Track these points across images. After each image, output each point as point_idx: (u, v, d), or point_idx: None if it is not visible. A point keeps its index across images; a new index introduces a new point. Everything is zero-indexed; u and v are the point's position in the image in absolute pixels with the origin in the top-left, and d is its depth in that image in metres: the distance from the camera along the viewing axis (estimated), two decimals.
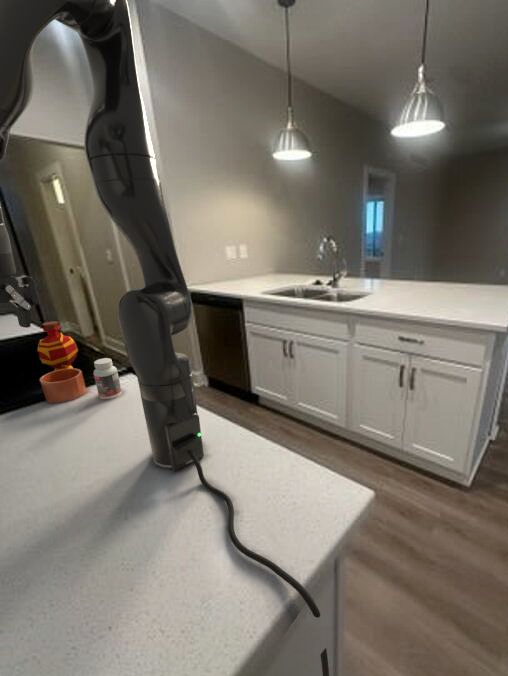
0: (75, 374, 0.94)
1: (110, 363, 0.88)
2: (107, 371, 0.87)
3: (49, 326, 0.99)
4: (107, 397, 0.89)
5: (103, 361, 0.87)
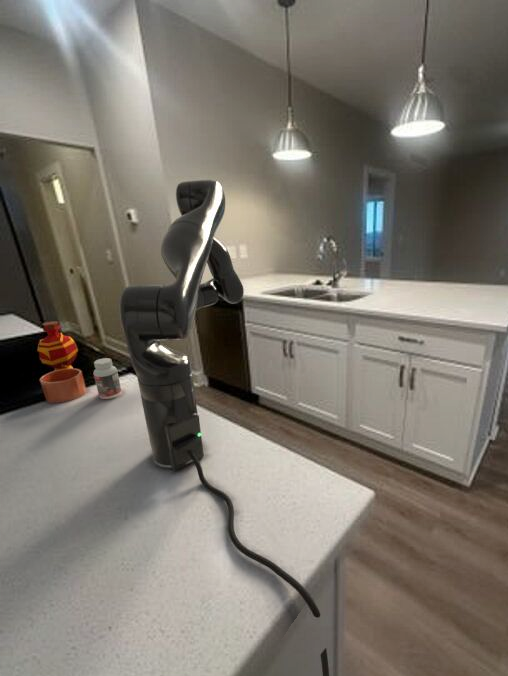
0: (75, 374, 0.94)
1: (110, 363, 0.88)
2: (107, 371, 0.87)
3: (49, 326, 0.99)
4: (107, 397, 0.89)
5: (103, 361, 0.87)
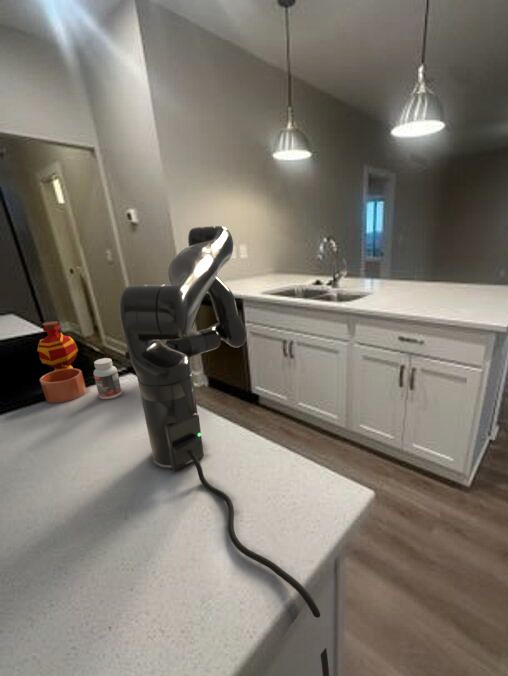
0: (75, 374, 0.94)
1: (110, 363, 0.88)
2: (107, 371, 0.87)
3: (49, 326, 0.99)
4: (107, 397, 0.89)
5: (103, 361, 0.87)
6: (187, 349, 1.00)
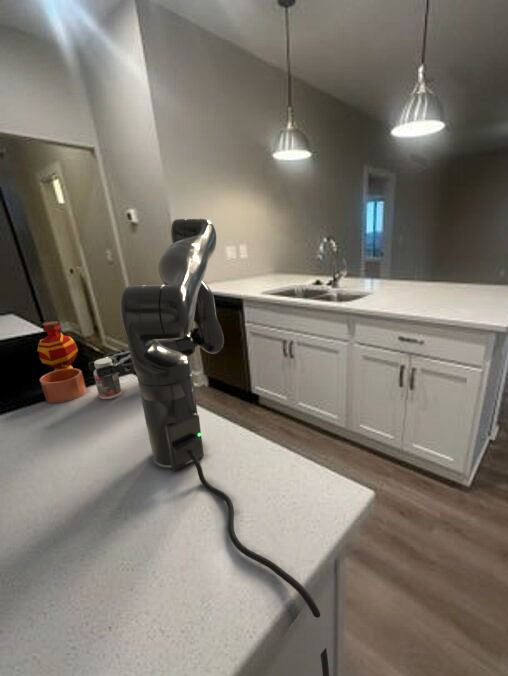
0: (75, 374, 0.94)
1: (110, 363, 0.88)
2: None
3: (49, 326, 0.99)
4: (107, 397, 0.89)
5: (103, 361, 0.87)
6: None
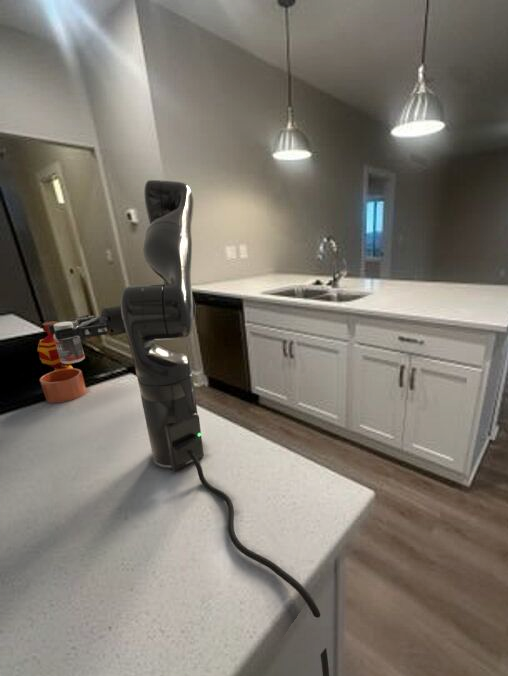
0: (75, 374, 0.94)
1: (70, 326, 0.84)
2: None
3: None
4: (68, 361, 0.85)
5: (63, 324, 0.84)
6: (123, 321, 0.91)
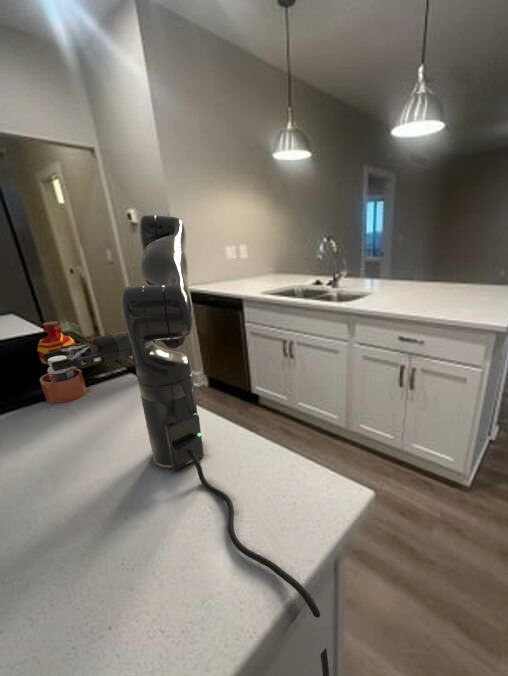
0: (75, 374, 0.94)
1: None
2: None
3: (49, 326, 0.99)
4: None
5: (57, 359, 0.87)
6: (113, 350, 0.94)
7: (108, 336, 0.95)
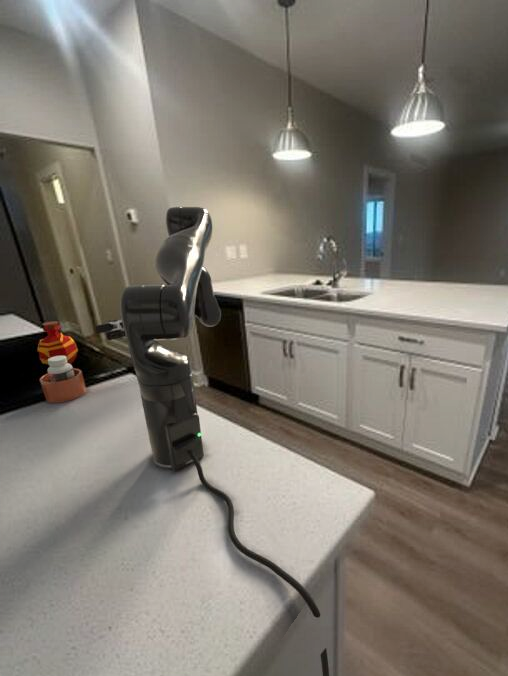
0: (75, 374, 0.94)
1: (64, 360, 0.88)
2: (61, 368, 0.87)
3: (49, 326, 0.99)
4: None
5: (57, 359, 0.87)
6: None
7: None
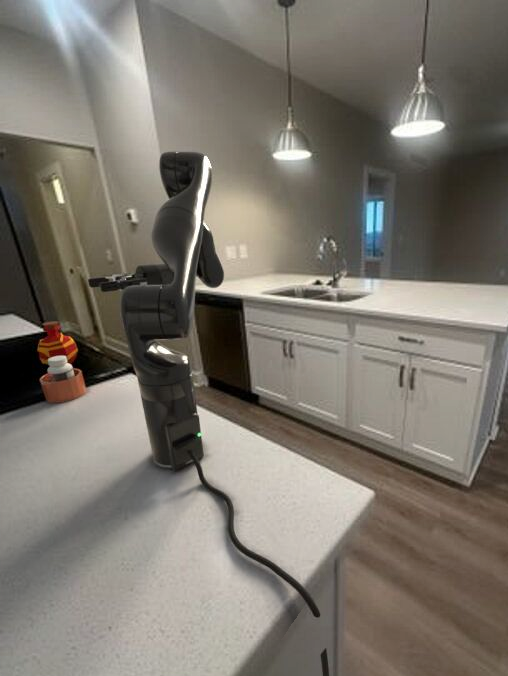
0: (75, 374, 0.94)
1: (64, 360, 0.88)
2: (61, 368, 0.87)
3: (49, 326, 0.99)
4: None
5: (57, 359, 0.87)
6: (157, 279, 0.93)
7: (151, 265, 0.93)
